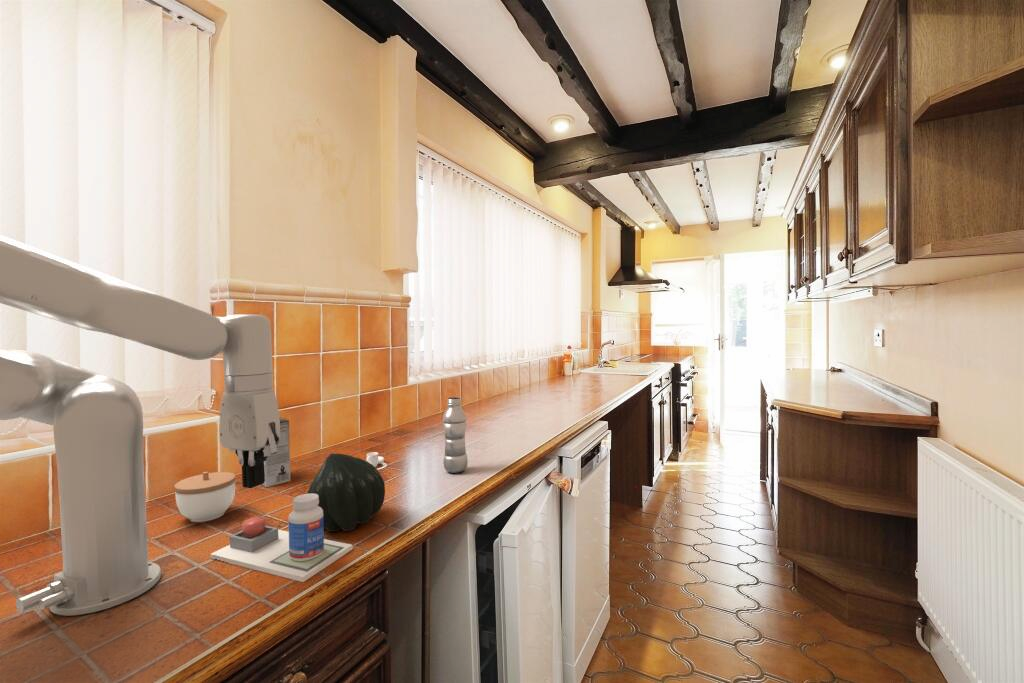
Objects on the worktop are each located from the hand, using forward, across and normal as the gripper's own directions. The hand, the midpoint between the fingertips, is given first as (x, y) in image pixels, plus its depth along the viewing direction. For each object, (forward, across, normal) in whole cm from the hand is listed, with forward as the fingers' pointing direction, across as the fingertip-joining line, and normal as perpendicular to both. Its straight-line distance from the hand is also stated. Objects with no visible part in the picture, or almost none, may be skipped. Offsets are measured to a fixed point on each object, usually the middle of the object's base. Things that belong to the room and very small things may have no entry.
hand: (254, 485), depth 81 cm
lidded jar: (+12, -22, +6) cm, 26 cm away
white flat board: (+11, +7, 0) cm, 13 cm away
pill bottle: (+11, +12, 0) cm, 16 cm away
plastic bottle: (+12, +14, +49) cm, 52 cm away
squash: (+12, +8, +14) cm, 20 cm away
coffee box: (+12, -28, +27) cm, 41 cm away
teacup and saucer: (+12, -9, +48) cm, 50 cm away
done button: (+8, 0, 0) cm, 9 cm away
